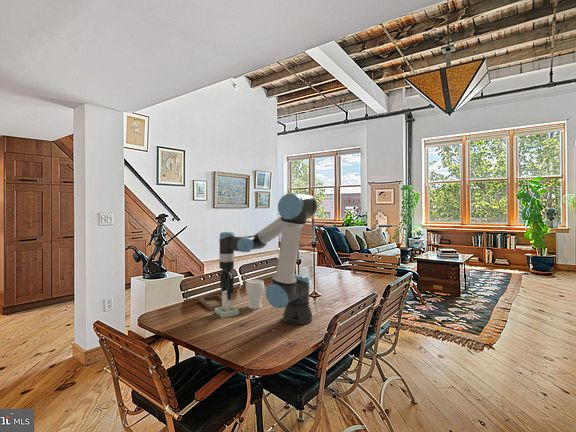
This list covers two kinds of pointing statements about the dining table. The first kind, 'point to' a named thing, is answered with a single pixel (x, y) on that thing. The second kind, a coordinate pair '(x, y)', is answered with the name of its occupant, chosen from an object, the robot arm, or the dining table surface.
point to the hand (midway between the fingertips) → (226, 303)
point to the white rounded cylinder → (224, 307)
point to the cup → (255, 293)
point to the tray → (211, 301)
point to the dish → (233, 312)
